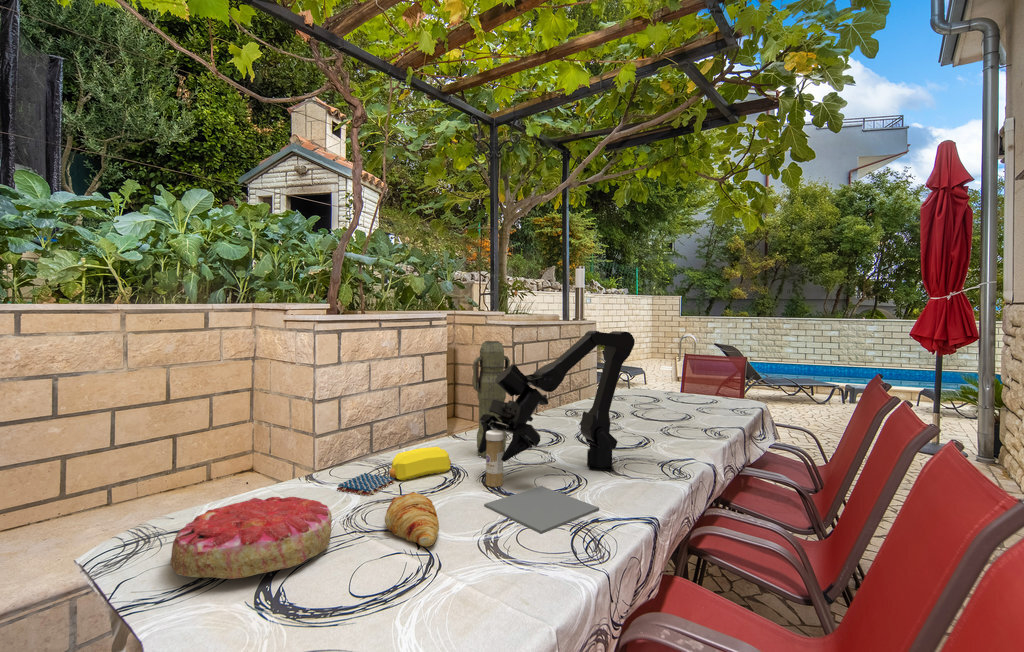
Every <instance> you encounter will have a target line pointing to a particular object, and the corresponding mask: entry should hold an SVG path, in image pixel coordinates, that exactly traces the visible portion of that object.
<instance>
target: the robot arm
mask: <svg viewBox="0 0 1024 652" xmlns="http://www.w3.org/2000/svg"><path fill="white" fill-rule="evenodd" d="M635 341H636V340H635V338H634V336H633V334H632V333H631V332H629V331H622V330H620V331H619V330H613V331H611V332H604V331H603V332H601V331H599V330H588V331H587V332H585V334H584V335H583V336H581V337H580V338H579V339H578V340H577V341H576V342H575V343H574V344H572V345H571V347H569V348H568V349H567V350H565V352H563V353H562V354H561V355H560V356H559V357H558V358H556V359H555V360H554V361H552V362H549V363H547V364H545V365H543V366H542V367H539V368H538V369H536V370H535V371H534V372H533V373H530V374H526V375H525V374H524V373H523V372H522V371H521V370H520V369H519V367H518V366H517V365H515V364H514V363H510V367H508V368H506V369H505V368H504V369H503V372H501V373H500V374H499V375H498V376H497V378H496V380H495V382H496V383H497V384H498V385H499V386H500V387H501V388H502V389H503V390H504V391H505V392H506V394H507V395H509V396H510V397H513V396H515V397H517V398H516V399H515V400H508V401H507V402H506V401H504V402H502V401H498V400H492V403H491V406H490V409H489V412H493V413H496V414H498V415H499V416H498V418H499V419H500V420H502V423H501V422H500V421H499V420H498V419H497V418H496V417H495V416H493V415H489V414H484V415H483V416H482V417H481V418H480V420H479V419H478V422H479V421H480V422H481V426H482V427H483V436H482V440H481V443H480V447H479V450H478V449H477V453H478V452H479V453H481V454H482V453H483V452H484V451H485V450H486V449H487V441H486V432H487V431H489V430H500V431H505V432H506V433H510V434H512V438H511V441H510V443H508V446H506V448H505V453H504V454H503V456H502V459H501V460H502V461H503V463H504V462H507V461H508V460H510V459H512V458H513V457H515V456H517V455H518V454H520V453H522V452H523V451H526V450H528V449H532V448H533V447H535V448H536V447H538V445H539V443H540V442H541V435H540V432H538V431H537V429H535V427H534V426H533V425H532V424H529V423H528V422H530V423H532V422H533V420H534V418H533V416H532V415H533V414H534V412H535V411H536V409H537V408H538V406H539V405H540V406H545V405H549V400H548V397H547V394H542V393H541V392H540V391H543V392H546V393H547V392H548V393H552V392H554V391H555V390H557V388H559V386H560V385H561V384H562V382H563V381H564V379H565V377H566V375H567V374H568V373H569V371H570V370H571V369H572V368H574V367H575V366H576V365H577V364H579V362H580V361H581V360H583V359H584V358H585V357H586V356H587V355H588V354H589V353H590V352H592V351H593V350H594V349H595V348H596V347H597V346H604V349H603V351H604V356H605V361H604V364H603V365H604V366H603V368H602V371H601V375H600V379H599V383H598V385H597V386H598V387H597V390H596V394H595V396H594V399H593V404H592V407H591V408H590V410H589V411H588V412H587V411H584V410H583V412H582V416H581V421H580V422H579V423H578V425H579V426H580V429H579V430H580V431H579V432H580V433H581V434H582V436H583V437H584V439H585V441H586V443H588V444H589V448H588V449H587V450H586V451H587V453H586V454H587V457H586V459H587V460H586V461H587V463H586V464H587V466H588V470H592V471H608V472H613V471H614V469H613V467H614V466H613V450H615V449H616V448H617V445H618V440H617V439H616V438H615V437H614V436H613V435H612V434H611V431H610V429H611V417H610V409H611V406H612V402H613V399H614V396H615V392H616V388H617V384H618V382H619V377H620V374H621V370H622V367H623V364H624V363H625V362H626V360H627V359H628V358H629V357H630V356H631V353H632V351H633V349H634V346H635ZM532 386H533V387H535V388H532ZM539 390H540V391H539Z"/></svg>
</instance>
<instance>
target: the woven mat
mask: <svg viewBox="0 0 1024 652" xmlns="http://www.w3.org/2000/svg"><path fill="white" fill-rule="evenodd" d="M390 483H392V484H390ZM393 483H394V484H395V483H396V482H395V478H392V477H390V476H388V477H387V475H384V476H382V475H381V474H380V475H377V474H372V473H369V474H368V473H367V472H363V473H362V474H361V473H360V474H359V475H358V476H355V477H354V478H353V477H352V478H351V479H347V480H346V481H343V482H342V483H339V484H338V485H337V487H336V490H340V491H339V492H343V493H348V492H350V493H349V494H353V493H355V495H358V494H359V495H360V494H361V495H360V496H364V495H366V496H365V497H372V495H371V494H373V495H375V494H378V493H379V492H381V491H382V490H381V489H383V488H384V489H386V488H388V487H390V486H389V485H394V484H393ZM386 486H387V487H386ZM344 491H345V492H344ZM377 491H379V492H377Z"/></svg>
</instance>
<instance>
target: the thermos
mask: <svg viewBox="0 0 1024 652" xmlns="http://www.w3.org/2000/svg"><path fill="white" fill-rule="evenodd" d="M481 343H482V344H481V347H480V350H479V356H478V357H476V358H475V359H474V361H473V390H475V392H476V393H477V400H478V431H477V432H476V448H477V453H476V454H478V455H477V457H478V456H481V457H484V458H483V459H486V451H487V450H485V451H484V452H483V453H482V454H481V453H479V452H478V450H479V447H480V443H481V440H482V436H483V427H482V426H481V422H480V421H479V420H480V418H481V417H482V416H483V415H484V414H489V415H493V416H495V417H496V418H497V419H498V420H499V421H500V422H501V423H502V420H500V419H499V418H498V416H499V415H498V414H496V413H493V412H489V409H490V406H491V403H492V400H498V401H502V402H506V398H507V393H506V392H505V391H504V390H503V389H502V388H501V387H500V386H499V385H498V384H497V383H496V382H495V380H496V378H497V376H498V375H499V374H500V373H501V372H503V371H504V370H505V369H506V368H508V367H510V365H511V360H510V358H509V357H508V356H506V355H505V349H504V345H503V343H502V342H500V341H499V340H486V341H484V342H481ZM503 432H504V439H503V454H504V453H505V451H506V448H507V442H506V441H507V432H505V431H503ZM481 457H480V458H481Z"/></svg>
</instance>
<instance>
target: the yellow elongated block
mask: <svg viewBox="0 0 1024 652" xmlns="http://www.w3.org/2000/svg"><path fill="white" fill-rule="evenodd" d="M451 465H452V460H451V459H450V454H449V453H448V452H447V451H446V450H445V449H444V448H441V447H439V446H431V447H420V448H415V449H410V450H407V451H401V452H399V453H397V454H396V455H395V457H393V459H392V461H391V468H390V470H389V471H388V475H389V477H392V479H393V478H394V479H398V480H400V481H402V480H404V481H407V480H406V479H409V480H411V479H410V478H413V479H415V478H414V477H416V478H419V476H420V477H423V476H428V474H429V475H434V474H433V473H437V474H440V473H439V472H443V473H446V472H448V471H449V470H450V469H451ZM447 470H448V471H447ZM445 471H446V472H445Z"/></svg>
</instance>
